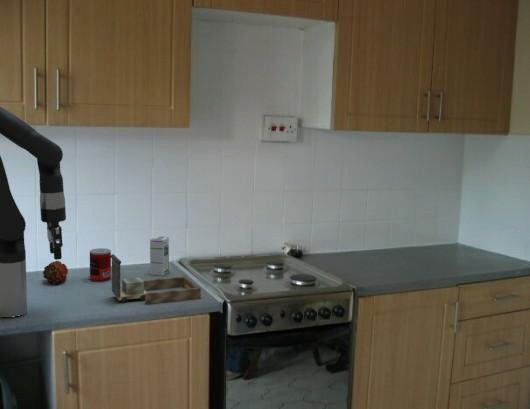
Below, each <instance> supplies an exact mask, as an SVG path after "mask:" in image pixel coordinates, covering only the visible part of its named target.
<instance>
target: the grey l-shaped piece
mask: <svg viewBox="0 0 530 409" xmlns="http://www.w3.org/2000/svg"><path fill="white" fill-rule="evenodd" d="M121 264H122V260H120V259H119V258H118V257H117V256H116V255H115V254H112V253H111V292H112V294H113V295H114V297H115V298H116V299H117V300H118V301H121V302H122V303H123V304H125V303H127V302H128V300H136V299H140V300H141V301H143V302H145V293H148V291H145V290H144V281H143V280H144V279H142V278H141V277H128V278H122V279H121Z"/></svg>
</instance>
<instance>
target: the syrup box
mask: <svg viewBox="0 0 530 409" xmlns="http://www.w3.org/2000/svg"><path fill="white" fill-rule="evenodd" d="M169 241H170V238H169V236H164V235H163V236H162V235H159V236H158V235H156V236H154V237H152V238H150V239H149V256H150V257H149V258H150V260H149V266H150V267H149V269H150V270H149V272H150V273H149V274H150V275H152V276H160V277H161V276H162V277H163V276H165V275H167V274H168V273H169V272H170V253H169V252H170V250H169V249H170V247H169V246H170V245H169V243H170V242H169Z"/></svg>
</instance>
